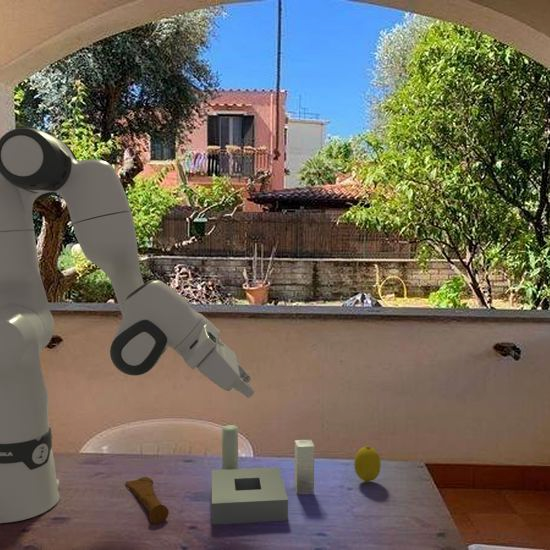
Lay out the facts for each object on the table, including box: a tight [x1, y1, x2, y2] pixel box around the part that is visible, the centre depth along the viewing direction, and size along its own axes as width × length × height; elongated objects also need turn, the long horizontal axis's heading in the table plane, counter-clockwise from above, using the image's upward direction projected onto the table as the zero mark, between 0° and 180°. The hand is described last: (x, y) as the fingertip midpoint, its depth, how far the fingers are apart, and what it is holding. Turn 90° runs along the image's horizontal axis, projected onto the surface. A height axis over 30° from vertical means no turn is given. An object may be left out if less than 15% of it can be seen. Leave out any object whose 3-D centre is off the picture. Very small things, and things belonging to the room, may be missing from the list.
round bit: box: [221, 424, 239, 470], centre depth 120 cm, size 4×4×10 cm
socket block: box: [211, 466, 289, 526], centre depth 106 cm, size 14×14×4 cm
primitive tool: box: [125, 476, 170, 524], centre depth 107 cm, size 19×6×4 cm, turn 30°
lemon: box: [354, 445, 382, 483], centre depth 115 cm, size 6×6×8 cm
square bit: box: [293, 439, 315, 495], centre depth 111 cm, size 4×4×10 cm
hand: (250, 387), depth 109 cm, fingers open, 8 cm apart
